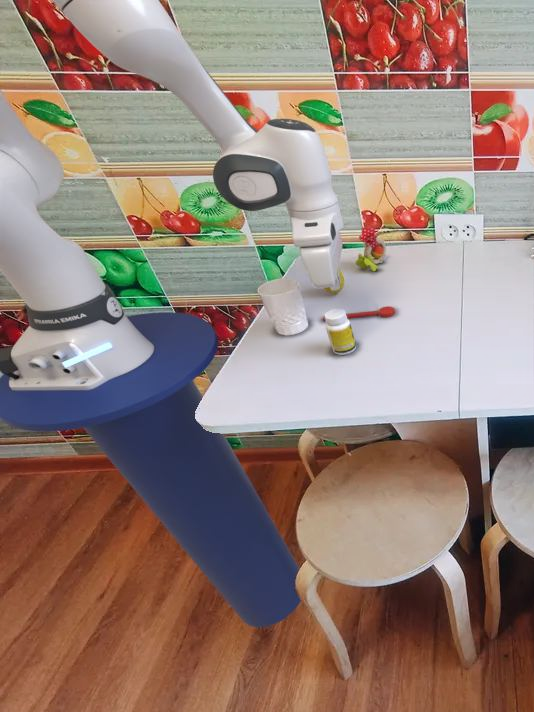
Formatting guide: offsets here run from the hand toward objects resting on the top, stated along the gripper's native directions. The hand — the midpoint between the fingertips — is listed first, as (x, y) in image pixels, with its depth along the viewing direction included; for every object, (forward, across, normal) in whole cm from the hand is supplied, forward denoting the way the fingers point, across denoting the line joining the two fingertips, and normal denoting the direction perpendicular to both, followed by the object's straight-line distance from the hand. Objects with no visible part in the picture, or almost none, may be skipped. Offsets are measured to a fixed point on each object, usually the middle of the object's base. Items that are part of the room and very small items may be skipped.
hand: (336, 287), depth 94 cm
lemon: (+11, -18, -4) cm, 22 cm away
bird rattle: (+11, -32, +5) cm, 35 cm away
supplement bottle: (+11, +6, 0) cm, 13 cm away
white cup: (+11, -4, -12) cm, 17 cm away
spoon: (+11, -6, +2) cm, 13 cm away
